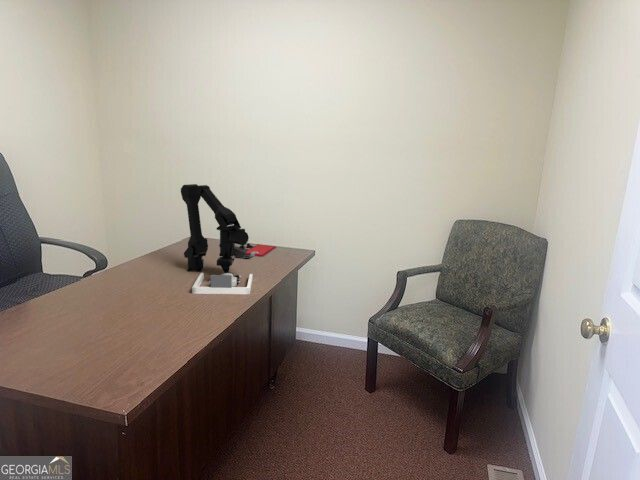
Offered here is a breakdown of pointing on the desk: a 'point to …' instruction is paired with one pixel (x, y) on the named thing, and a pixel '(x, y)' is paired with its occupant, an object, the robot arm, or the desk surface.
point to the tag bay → (220, 285)
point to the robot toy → (233, 279)
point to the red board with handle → (258, 250)
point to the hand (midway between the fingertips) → (226, 275)
